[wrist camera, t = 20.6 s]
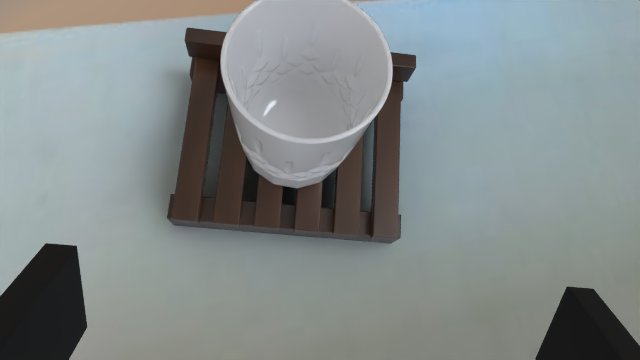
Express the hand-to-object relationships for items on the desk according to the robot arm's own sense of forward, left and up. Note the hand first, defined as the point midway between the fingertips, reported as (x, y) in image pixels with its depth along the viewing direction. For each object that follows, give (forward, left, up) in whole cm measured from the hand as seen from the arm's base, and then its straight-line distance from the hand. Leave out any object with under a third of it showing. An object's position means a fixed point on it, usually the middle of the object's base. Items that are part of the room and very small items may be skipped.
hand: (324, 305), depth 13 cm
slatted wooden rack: (+1, -11, -19) cm, 22 cm away
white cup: (+1, -11, -16) cm, 20 cm away
